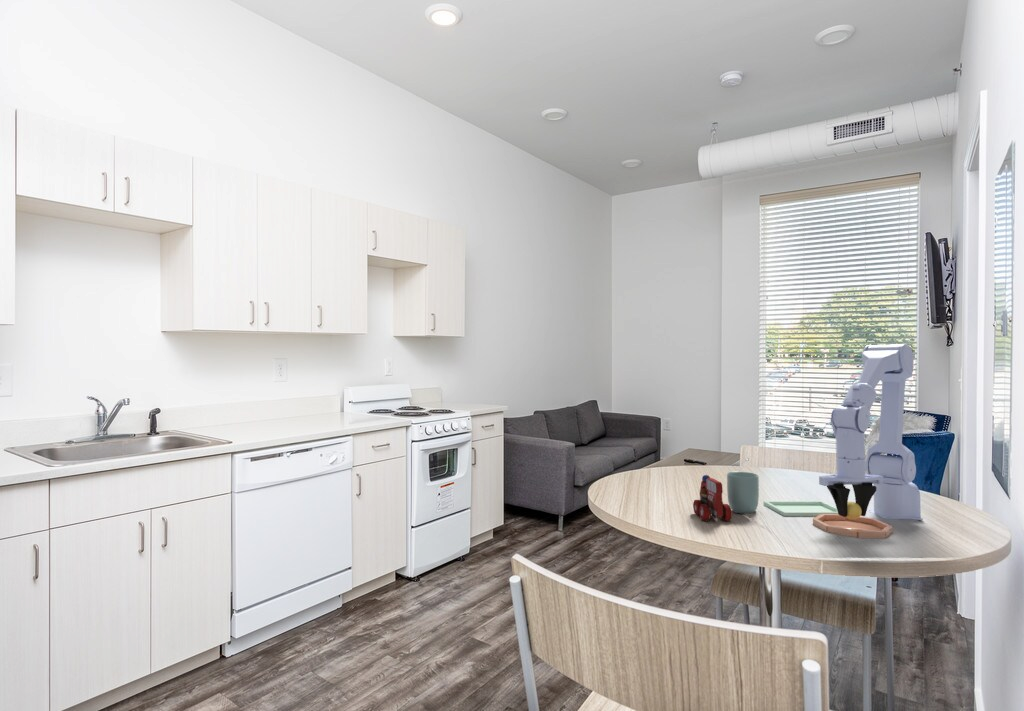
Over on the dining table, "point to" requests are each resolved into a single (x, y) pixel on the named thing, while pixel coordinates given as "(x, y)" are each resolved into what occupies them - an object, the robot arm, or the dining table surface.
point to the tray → (801, 508)
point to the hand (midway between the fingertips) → (851, 515)
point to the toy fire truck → (711, 501)
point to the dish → (853, 526)
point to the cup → (743, 491)
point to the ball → (853, 510)
